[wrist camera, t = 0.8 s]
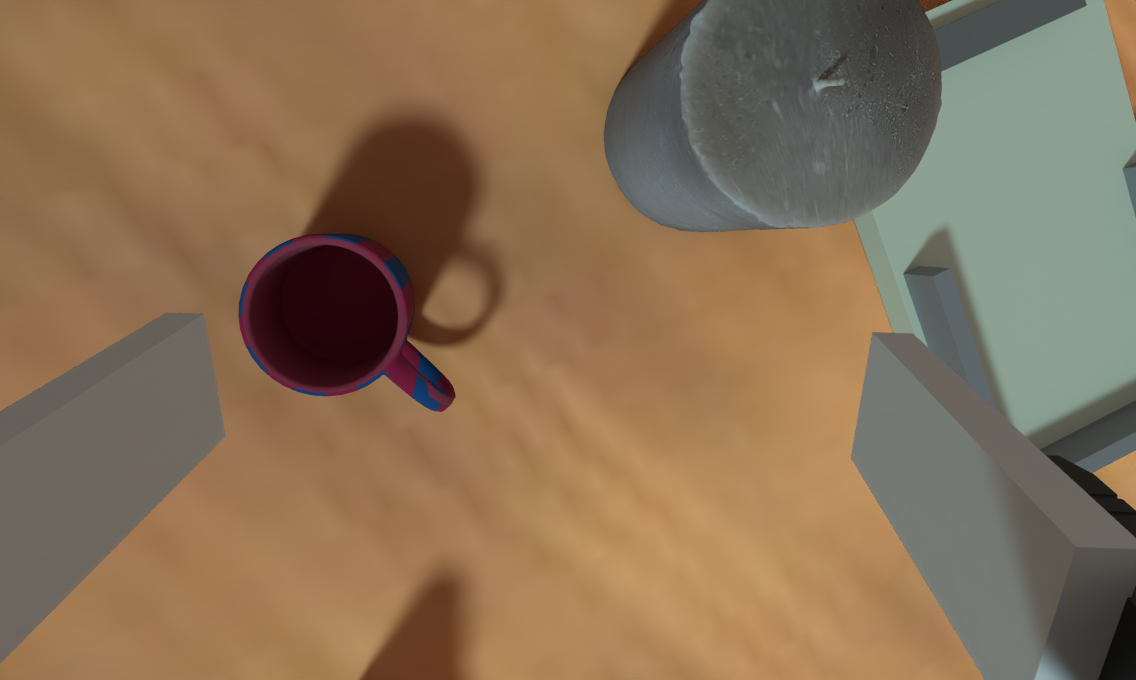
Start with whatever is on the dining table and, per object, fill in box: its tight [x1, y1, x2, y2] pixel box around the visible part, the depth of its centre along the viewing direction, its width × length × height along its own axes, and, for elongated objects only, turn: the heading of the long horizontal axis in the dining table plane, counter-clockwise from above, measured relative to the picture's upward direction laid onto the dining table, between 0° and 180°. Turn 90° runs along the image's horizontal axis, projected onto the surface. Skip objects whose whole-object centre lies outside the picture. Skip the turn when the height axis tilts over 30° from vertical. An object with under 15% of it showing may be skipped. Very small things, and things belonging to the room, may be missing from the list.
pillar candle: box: [604, 0, 942, 232], centre depth 31 cm, size 10×10×15 cm
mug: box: [239, 234, 456, 412], centre depth 34 cm, size 7×10×7 cm
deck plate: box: [854, 0, 1136, 473], centre depth 40 cm, size 26×16×4 cm, turn 24°
